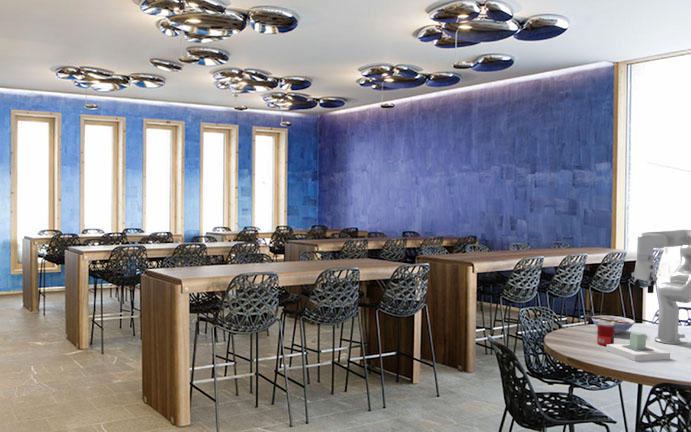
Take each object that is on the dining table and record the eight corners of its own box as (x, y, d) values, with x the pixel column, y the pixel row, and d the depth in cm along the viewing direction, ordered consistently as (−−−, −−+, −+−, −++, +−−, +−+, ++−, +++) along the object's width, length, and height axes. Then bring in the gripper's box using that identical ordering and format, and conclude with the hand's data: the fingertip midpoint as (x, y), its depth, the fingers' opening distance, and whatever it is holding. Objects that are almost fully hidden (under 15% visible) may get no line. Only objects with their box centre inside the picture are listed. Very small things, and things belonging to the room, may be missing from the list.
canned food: (615, 346, 323) (616, 325, 322) (598, 345, 324) (599, 324, 324) (611, 343, 330) (612, 322, 330) (595, 342, 332) (596, 321, 331)
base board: (639, 348, 320) (640, 342, 320) (669, 359, 300) (670, 351, 300) (606, 350, 314) (606, 343, 314) (634, 361, 295) (634, 353, 295)
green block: (638, 346, 310) (638, 332, 310) (645, 348, 306) (646, 334, 305) (629, 346, 309) (630, 332, 309) (636, 349, 304) (637, 334, 304)
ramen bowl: (642, 333, 356) (643, 319, 356) (625, 339, 341) (626, 324, 340) (599, 325, 374) (600, 312, 374) (581, 331, 359) (582, 316, 358)
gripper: (663, 260, 317) (662, 294, 317) (639, 256, 333) (637, 288, 334) (651, 260, 315) (649, 294, 315) (627, 256, 331) (625, 289, 332)
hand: (643, 291), depth 325 cm, fingers open, 9 cm apart
